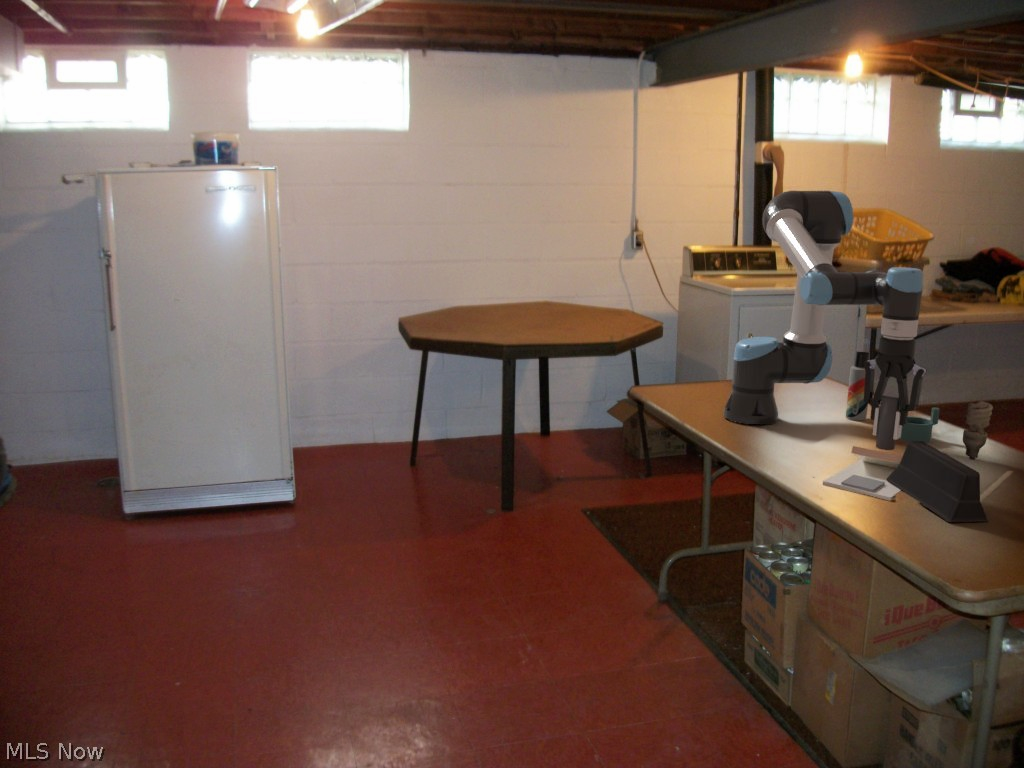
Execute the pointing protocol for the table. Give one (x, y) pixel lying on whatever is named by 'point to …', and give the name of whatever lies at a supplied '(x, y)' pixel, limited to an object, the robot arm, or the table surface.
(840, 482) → the board
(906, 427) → the bracket
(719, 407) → the table surface
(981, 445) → the light bulb
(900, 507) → the table surface
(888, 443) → the tool handle
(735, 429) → the table surface
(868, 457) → the tile
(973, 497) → the barrier
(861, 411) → the lotion bottle
